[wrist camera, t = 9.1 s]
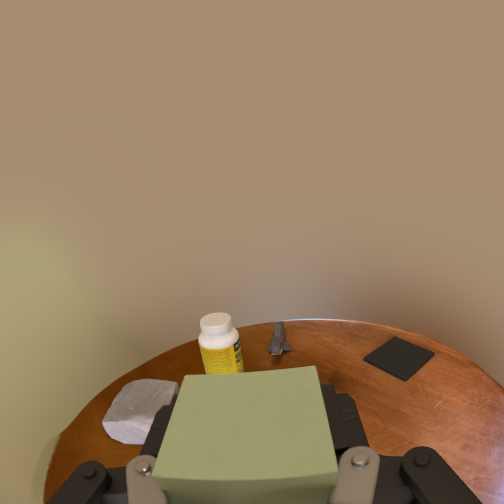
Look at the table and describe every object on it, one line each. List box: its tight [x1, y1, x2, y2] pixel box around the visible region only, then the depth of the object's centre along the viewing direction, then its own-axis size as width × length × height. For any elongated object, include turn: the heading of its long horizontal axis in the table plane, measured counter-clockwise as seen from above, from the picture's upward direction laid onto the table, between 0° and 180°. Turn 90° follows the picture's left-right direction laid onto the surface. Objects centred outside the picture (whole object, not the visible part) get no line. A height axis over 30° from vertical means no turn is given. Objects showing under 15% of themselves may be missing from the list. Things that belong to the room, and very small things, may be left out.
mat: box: [363, 337, 435, 381], centre depth 47 cm, size 9×9×1 cm
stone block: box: [102, 379, 180, 445], centre depth 40 cm, size 12×5×10 cm
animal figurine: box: [267, 322, 291, 355], centre depth 56 cm, size 12×4×5 cm, turn 170°
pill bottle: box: [199, 312, 245, 375], centre depth 47 cm, size 6×6×11 cm
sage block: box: [152, 366, 339, 504], centre depth 10 cm, size 5×5×9 cm
